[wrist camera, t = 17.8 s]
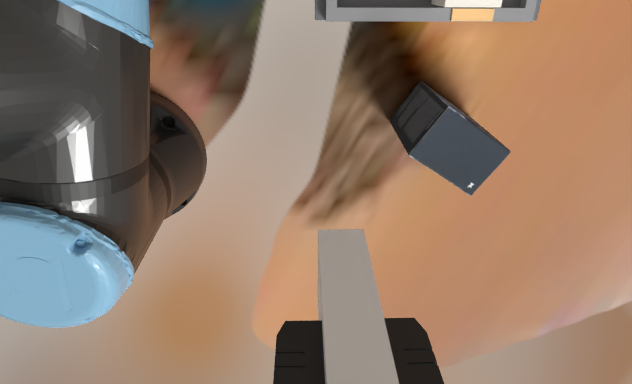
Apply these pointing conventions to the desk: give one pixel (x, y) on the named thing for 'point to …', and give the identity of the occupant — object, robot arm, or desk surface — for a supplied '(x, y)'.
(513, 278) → the desk surface
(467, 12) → the dip bank
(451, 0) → the tab
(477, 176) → the box
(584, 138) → the desk surface
